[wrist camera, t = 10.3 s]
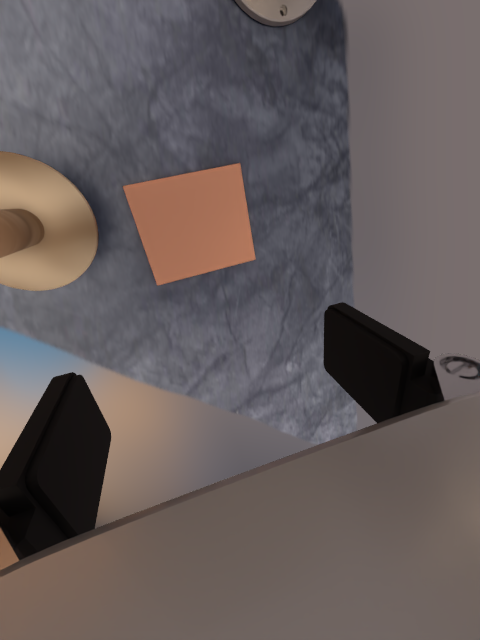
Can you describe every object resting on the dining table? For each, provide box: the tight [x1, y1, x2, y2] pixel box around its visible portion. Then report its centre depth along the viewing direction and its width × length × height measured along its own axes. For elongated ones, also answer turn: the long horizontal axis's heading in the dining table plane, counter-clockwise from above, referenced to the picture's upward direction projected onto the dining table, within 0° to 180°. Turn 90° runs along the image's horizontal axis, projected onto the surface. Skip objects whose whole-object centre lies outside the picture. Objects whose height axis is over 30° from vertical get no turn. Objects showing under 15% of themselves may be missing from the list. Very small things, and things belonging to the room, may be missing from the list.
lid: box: [0, 151, 98, 291], centre depth 20 cm, size 11×11×7 cm
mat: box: [123, 163, 255, 286], centre depth 34 cm, size 12×14×1 cm
